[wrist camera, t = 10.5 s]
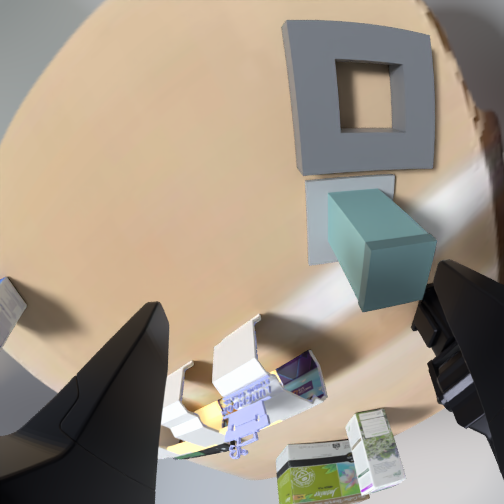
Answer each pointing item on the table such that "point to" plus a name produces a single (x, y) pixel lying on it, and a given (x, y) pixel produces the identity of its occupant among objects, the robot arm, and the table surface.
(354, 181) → the pad
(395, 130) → the socket
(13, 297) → the medicine box
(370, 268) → the plug
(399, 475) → the syrup box
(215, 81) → the table surface
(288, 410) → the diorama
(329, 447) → the tea box
